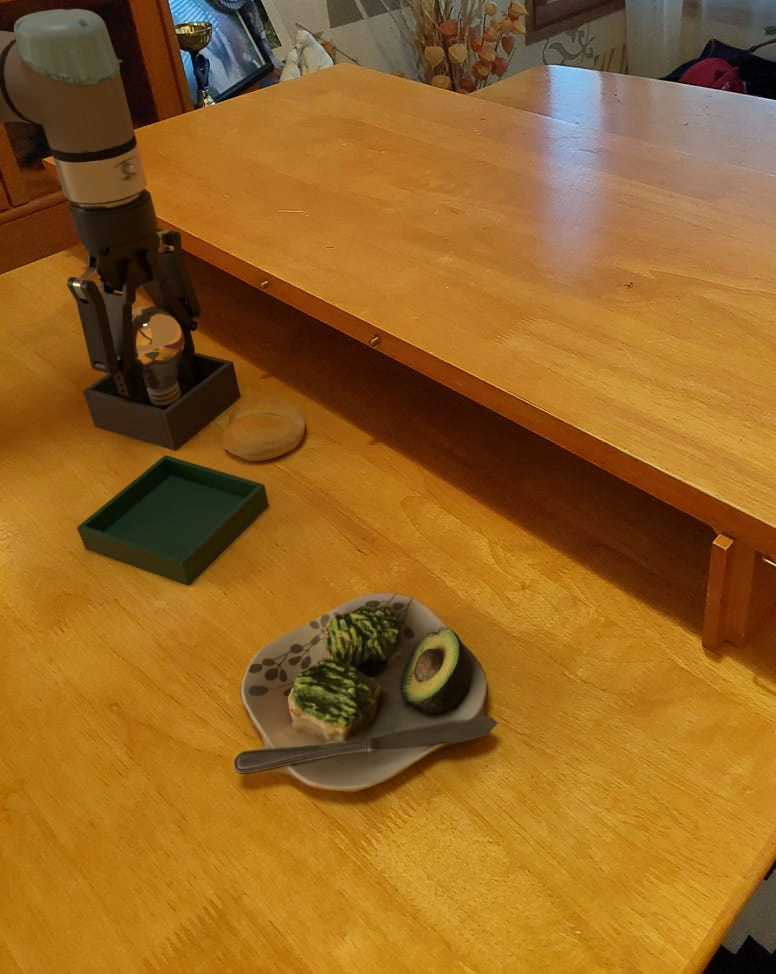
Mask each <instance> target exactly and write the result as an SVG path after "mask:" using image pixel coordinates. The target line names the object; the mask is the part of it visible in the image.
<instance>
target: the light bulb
mask: <svg viewBox="0 0 776 974" xmlns="http://www.w3.org/2000/svg"><path fill="white" fill-rule="evenodd" d="M184 343H185V342H184V333H183V331H182V328H181V326H180V324H179V323H178V321H177V320H176V319H175V318H174V317H173V316H172V315H171V314H170V313H169V312H167V311H166V310H164V309H161V308H159V307H156V306H155V305H147V304H146V305H139V306H135V307H132V354H133V364H135V365H139V366H140V368H141V371H142V374H143V378H144V381H145V384H146V387H147V391H148V395H149V398H150V401H151V403H152V404H154V405H156V406H158V407H160V408H163V409H167V408H168V407H169V406H171V405H172V404H173V403H175V402H176V401H177V400H178V399H180V395H181V392H180V390H179V389H180V388H179V385H178V381H177V379H178V364H179V361H180V358H181V356H182V353H183V350H184Z"/></svg>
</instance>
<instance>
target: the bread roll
mask: <svg viewBox="0 0 776 974" xmlns="http://www.w3.org/2000/svg"><path fill="white" fill-rule="evenodd" d="M305 428H306V419H305V416H304V414H303V411H302V409H301V408H300V407H299V406H298V405H297V404H296V403H294V402H293V401H292V400H290V399H288V398H286V397H283V396H282V395H278V394H267V393H266V394H265V393H264V394H258V395H254V396H252V397H249V398H247V399H245V400H243V401H242V402H241V403H239V404H238V405H237V406H236V407H234V409H233V410H232V411H231V413H230V415H229V419H228V426H226V427H225V429H224V430H223V433H222V436H221V441H222V445H223V448H224V449H225V450H226V451H227V452H229V453H231V454H233V455H235V456H237V457H239V458H241V459H243V460H246V461H249V462H250V461H251V462H252V461H253V462H261V461H267V460H273V459H275V458H277V457H281V456H282V455H285V454H287V453H288V452H290V451H292V450H295V448H297V446H298V445H299V444H300V442H301V441H302V440H303V438H304V435H305Z"/></svg>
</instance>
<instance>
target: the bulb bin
mask: <svg viewBox="0 0 776 974" xmlns="http://www.w3.org/2000/svg"><path fill="white" fill-rule="evenodd" d="M193 357H194V361H195V364H196V368H197V372H198V376H199V380H200V383H199V384H198V385H197V386H195V387H193V386H189V385H186V384H182V383H178V385H179V388H180V389H179V390H180V392H181V395H180V399H178V400H177V401H176V402H175V403H173V404H172V405H171V406H169V407H168V408H167V409H163V408H160V407H158V406H156V405H154V404H152V403H151V405H152V406H149V405H145V404H141V403H138V402H134V401H131V400H127V399H126V398H125V397H124V396H121V395H120V394H119V392H118V389H117V386H116V383H115V380H114V376H113V374H108V373H106V374H105V375H104V376H102V377H101V378H100V379H98V380H97V381H95V382H94V383H92V384H90V385H89V386H88V387H86V388H84V390H82V393H83V397H84V399H85V402H86V404H87V408H88V409H89V411H88V412H89V413H90V416H91V419H92V423H93V425H94V427H95V428H99V429H101V430H105V431H109V432H112V433H115V434H119V435H122V436H125V437H129V438H133V439H136V440H140V441H143V442H145V443H149V444H153V445H155V446H159V447H163V448H167V449H170V450H174V451H177V450H178V449H179V448H181V447H182V446H183V445H184V444H186V443H187V442H188V441H189V440H190V439H192V438H193V437H194V436H195V435H197V434H198V433H199V432H201V430H202V429H204V428H205V427H206V426H207V425H209V424H210V423H211V422H212V421H213V420H215V419H216V418H217V417H218V416H219V415H221V414H222V413H223V412H225V410H227V409H228V408H230V407H231V406H232V405H233V404H234V403H235V402H237V401H238V400H239V399H240V398H241V391H240V386H239V382H238V378H237V374H236V369H235V365H234V361H231V360H227V359H224V358H220V357H219V358H218V357H215V356H211V355H207V354H203V353H198V352H195V353H193ZM146 388H147V387H146Z"/></svg>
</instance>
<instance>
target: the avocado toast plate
mask: <svg viewBox="0 0 776 974" xmlns="http://www.w3.org/2000/svg"><path fill="white" fill-rule="evenodd" d="M440 619H441V618H439V617H438V616H437V615H436V613H434V612H433V611H432V609H430V608H429V607H427V606H426V605H425V604H424V603H423V602H422V601H420V600H418V599H417V598H415V597H412V596H409V595H406V594H401V593H397V592H396V593H393V592H392V593H391V592H374V593H367V594H363V595H361V596H358V597H355V598H352V599H350V600H348V601H346V602H344V603H342V604H340V605H338V606H336V607H334V608H333V609H330V610H329V611H327V612H325V613H323V614H321V615H320V616H318V617H316V618H315V619H312V620H310V621H308V622H307V623H305V624H304V625H301V626H299V627H297V628H295V629H291V630H290V631H289V632H287V633H286V634H284V635H282V636H279V637H278V638H276V639H274V640H273V641H271V642H269V643H268V644H266V645H264V646H263V647H262V648H261V649H259V650H258V651H257V652H256V654H255V655H254V656H253V658H252V659H251V660H250V662H249V663H248V665H247V668H246V671H245V674H244V676H243V679H242V682H241V684H240V687H239V691H238V692H239V696H240V699H241V703H242V705H243V706H244V708H245V710H246V711H247V712H248V716H249V718H250V720H251V722H252V724H253V726H254V727H255V729H256V730H257V731H258V733H259V734H260V735H261V738H262V741H263V745H264V748H259V749H252V750H251V749H250V750H244V751H241V752H240V753H239V754H237V755H236V756H235V758H234V759H233V768H234V772H236V774H239V775H241V776H248V775H261V774H269V773H281V774H284V775H289V776H290V777H292V778H293V779H296V780H297V781H299V782H300V783H302V784H303V785H305V786H307V787H310V788H314V789H319V790H320V789H321V790H324V791H336V792H343V793H349V794H350V793H356V792H359V791H362V790H366V789H369V788H372V787H374V786H376V785H379V784H382V783H384V782H386V781H388V780H390V779H392V778H393V777H395V776H398V775H399V774H401V773H402V772H404V771H405V770H407V769H408V768H410V767H411V766H413V765H414V764H416V763H417V762H419V761H421V760H422V759H424V758H426V757H427V756H429V755H430V754H432V753H433V752H436V751H437V750H440V749H441V748H445V747H447V746H450V745H451V746H452V745H456V744H460V743H461V744H462V743H465V742H470V741H471V740H475V739H478V738H479V739H480V738H482V737H484V736H487V735H490V733H491V732H492V731H493V729H494V728H495V727H496V726H497V725H498V724H499V722H498V721H497V720H495V719H494V718H493V717H492V716H488V717H487V716H485V714H486V712H485V709H486V705H487V697H488V695H489V694H488V693H489V689H488V688H489V685H488V680H487V674H486V672H485V670H484V668H483V666H482V664H481V662H480V661H479V659H478V658H477V656H476V655H475V654H474V653H473V652H472V651H471V650H470V648H468V647H467V646H466V644H465V643H464V642H463V641H462V640H461V638H460V637H459V636H458V634H457V633H456V632H455V631H454V630H453V629H452V628H449V627H448V626H447V625H446V624H445V622H443V621H442V620H440Z"/></svg>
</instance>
